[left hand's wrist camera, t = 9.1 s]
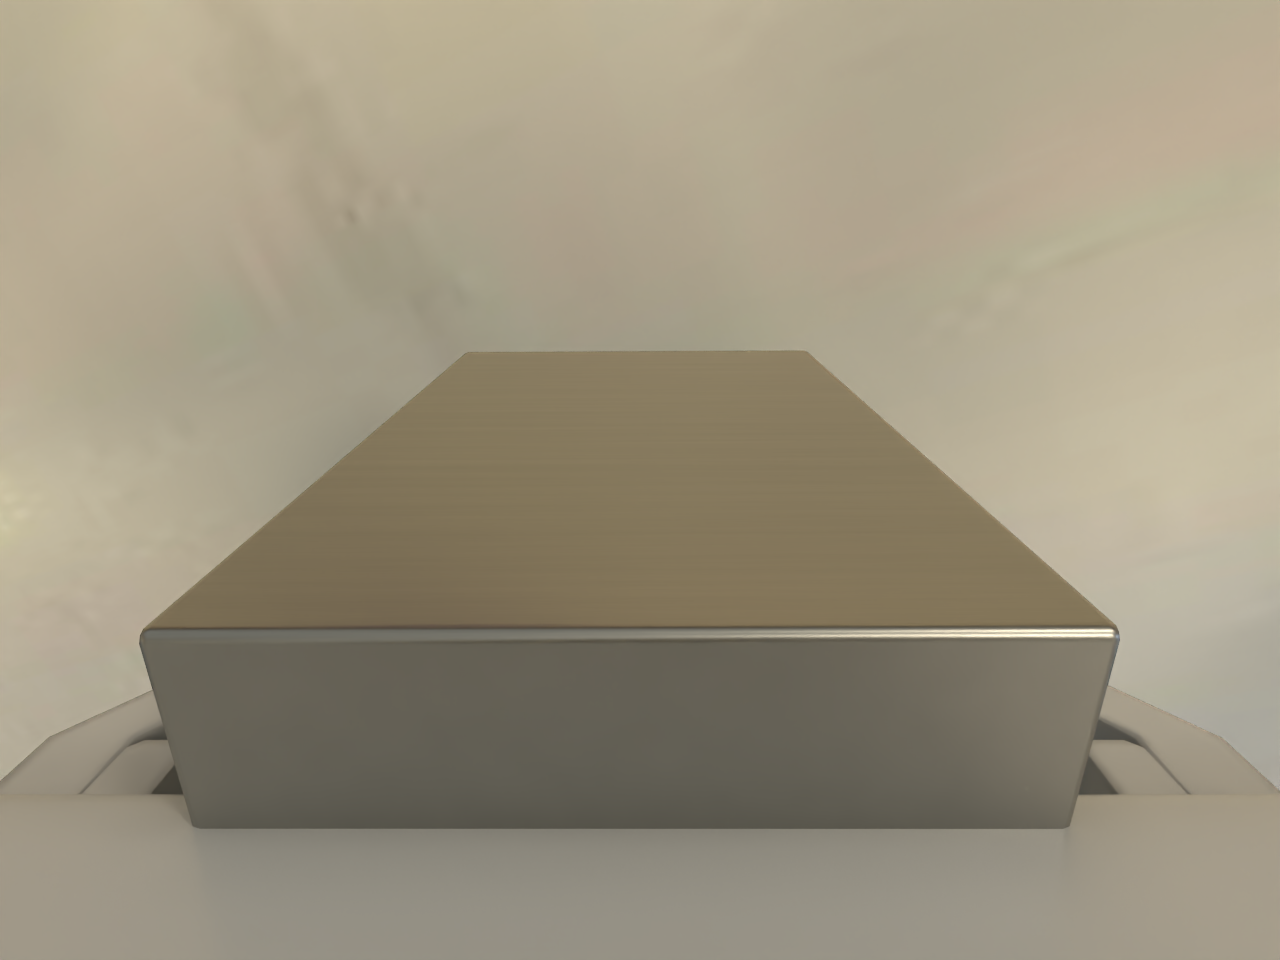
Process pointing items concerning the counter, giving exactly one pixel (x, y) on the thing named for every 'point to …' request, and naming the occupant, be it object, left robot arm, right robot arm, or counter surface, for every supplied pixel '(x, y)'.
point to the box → (632, 620)
